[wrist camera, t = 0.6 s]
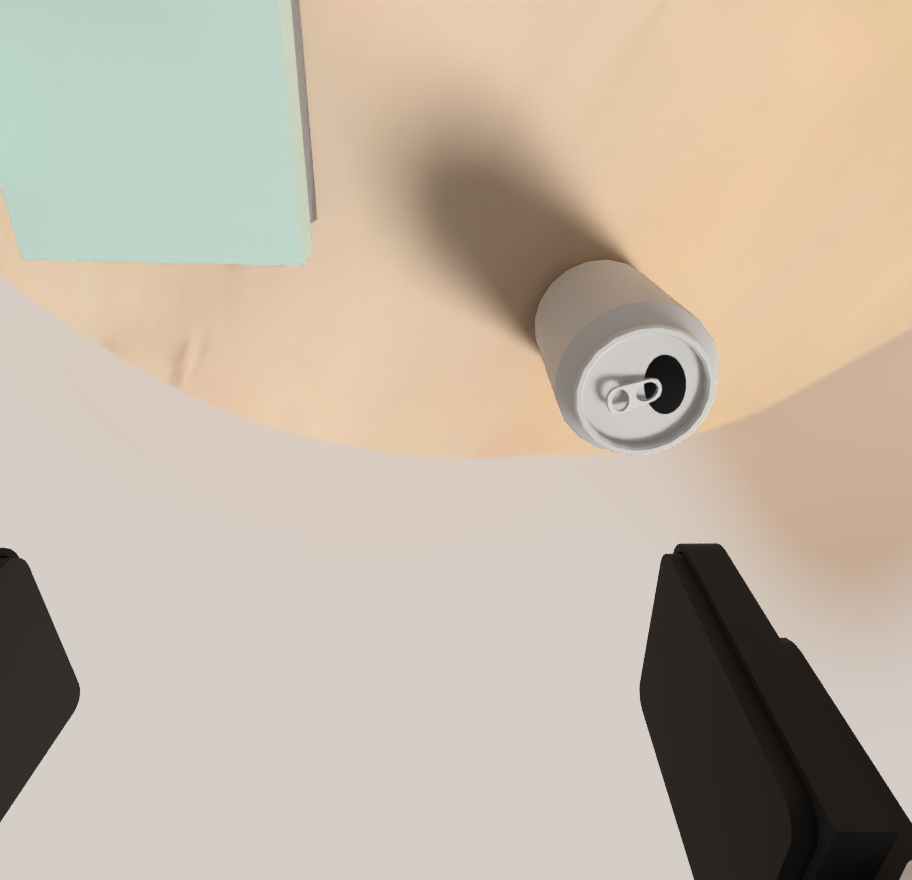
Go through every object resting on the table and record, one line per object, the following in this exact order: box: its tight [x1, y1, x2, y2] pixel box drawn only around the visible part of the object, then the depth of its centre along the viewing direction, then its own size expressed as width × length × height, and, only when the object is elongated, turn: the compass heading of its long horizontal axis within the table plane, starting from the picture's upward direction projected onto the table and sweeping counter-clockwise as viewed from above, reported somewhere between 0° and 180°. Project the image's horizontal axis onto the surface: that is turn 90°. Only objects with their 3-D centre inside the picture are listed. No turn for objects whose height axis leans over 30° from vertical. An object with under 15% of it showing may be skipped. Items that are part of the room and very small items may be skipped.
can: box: [535, 259, 719, 456], centre depth 32 cm, size 8×8×12 cm
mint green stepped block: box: [0, 0, 313, 265], centre depth 24 cm, size 13×16×7 cm
